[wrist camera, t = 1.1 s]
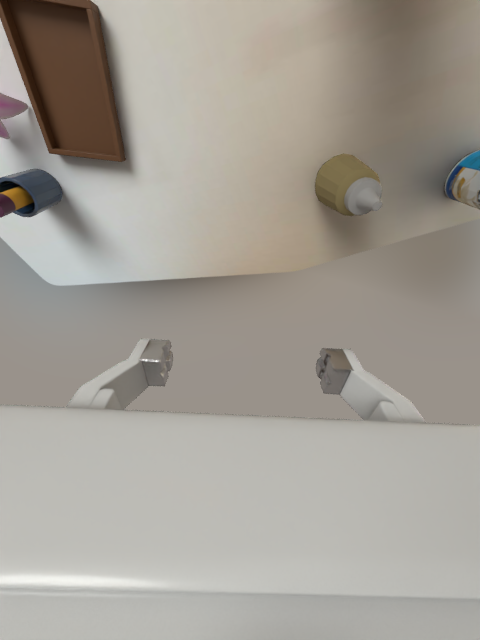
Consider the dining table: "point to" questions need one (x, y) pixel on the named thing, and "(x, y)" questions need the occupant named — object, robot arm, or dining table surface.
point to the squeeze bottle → (348, 186)
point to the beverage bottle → (465, 181)
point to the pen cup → (34, 190)
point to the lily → (9, 111)
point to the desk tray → (66, 75)
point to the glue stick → (14, 200)
